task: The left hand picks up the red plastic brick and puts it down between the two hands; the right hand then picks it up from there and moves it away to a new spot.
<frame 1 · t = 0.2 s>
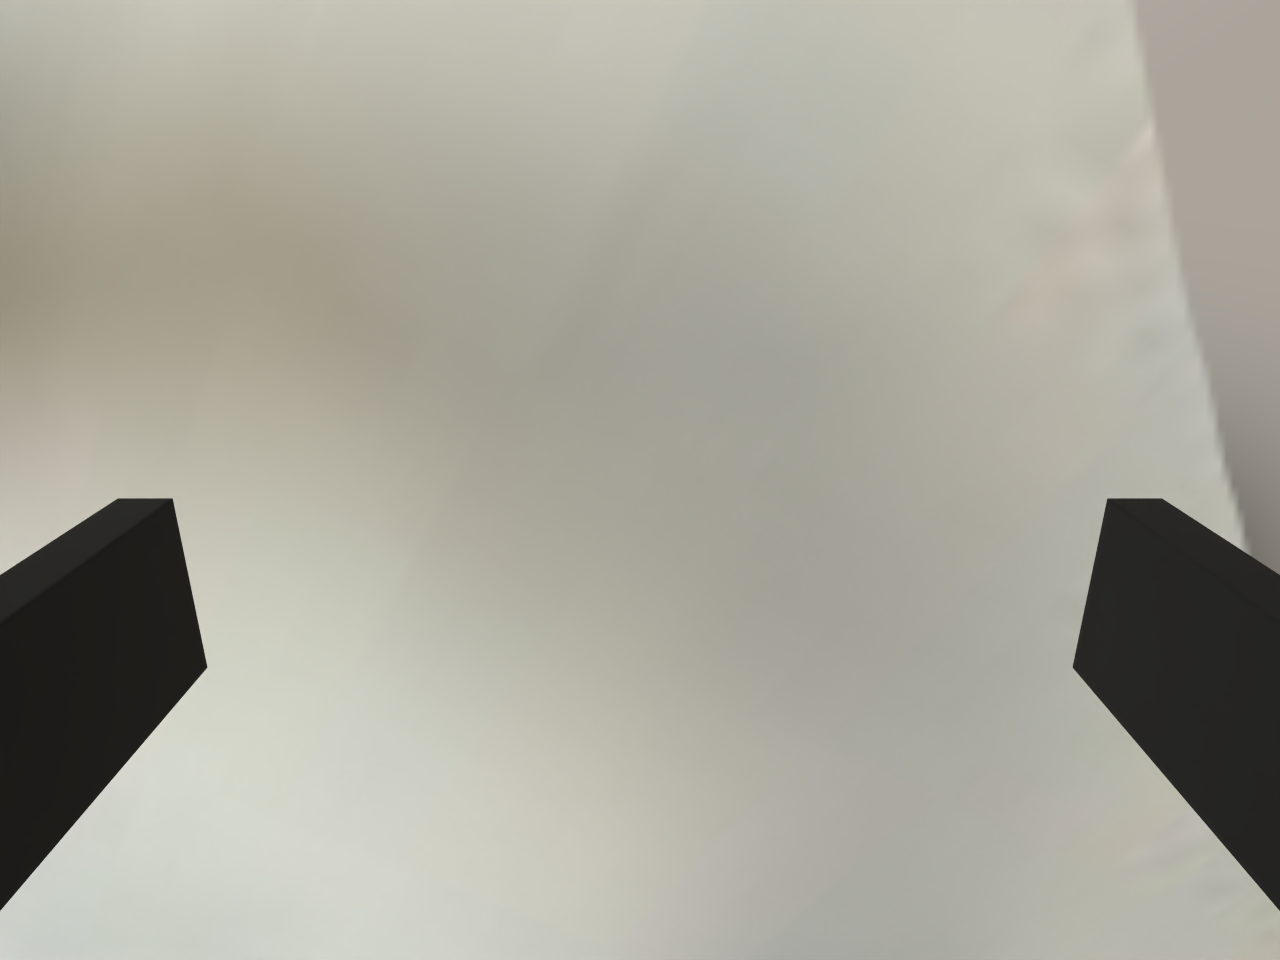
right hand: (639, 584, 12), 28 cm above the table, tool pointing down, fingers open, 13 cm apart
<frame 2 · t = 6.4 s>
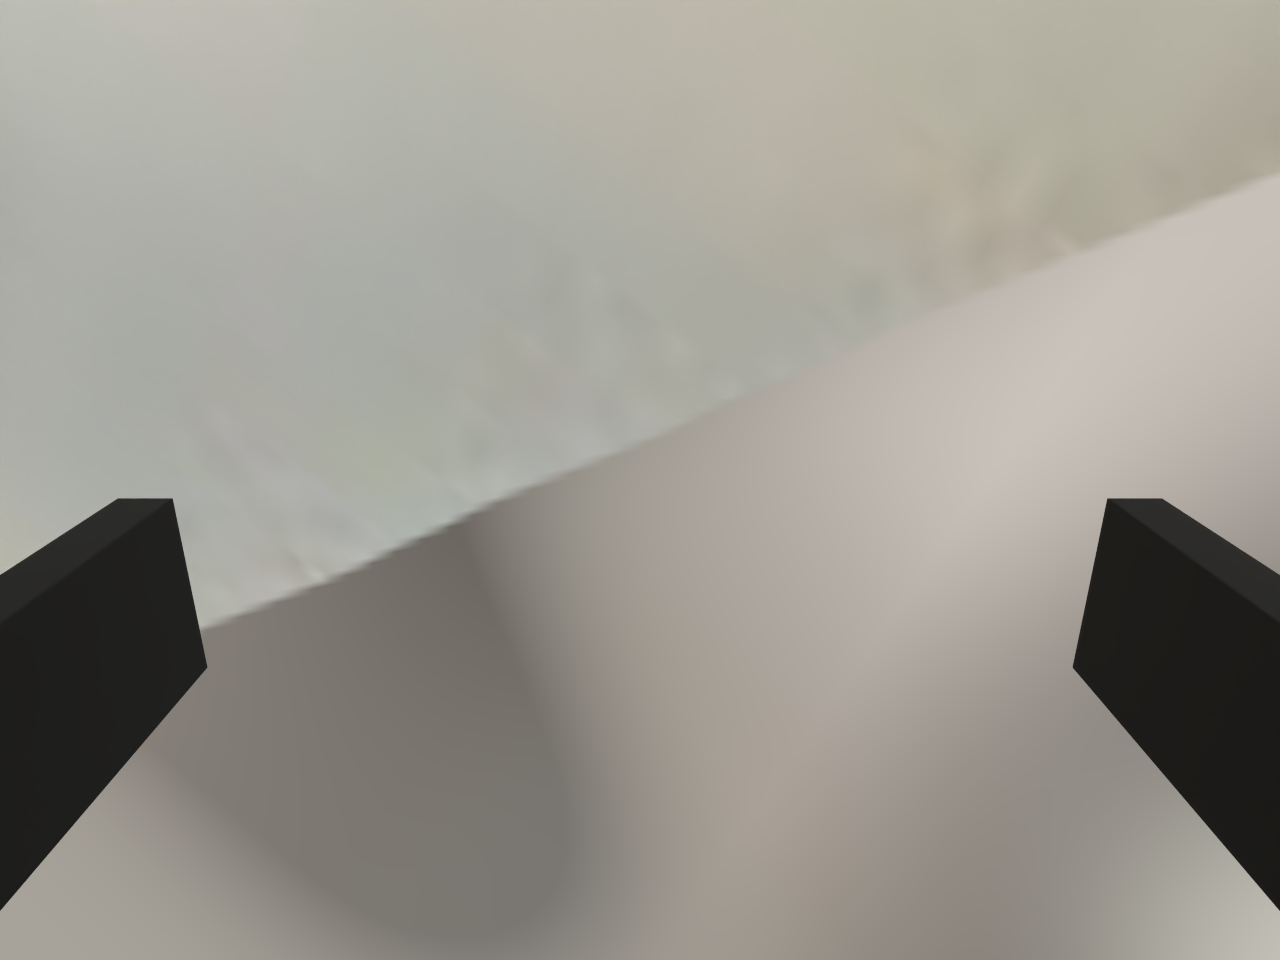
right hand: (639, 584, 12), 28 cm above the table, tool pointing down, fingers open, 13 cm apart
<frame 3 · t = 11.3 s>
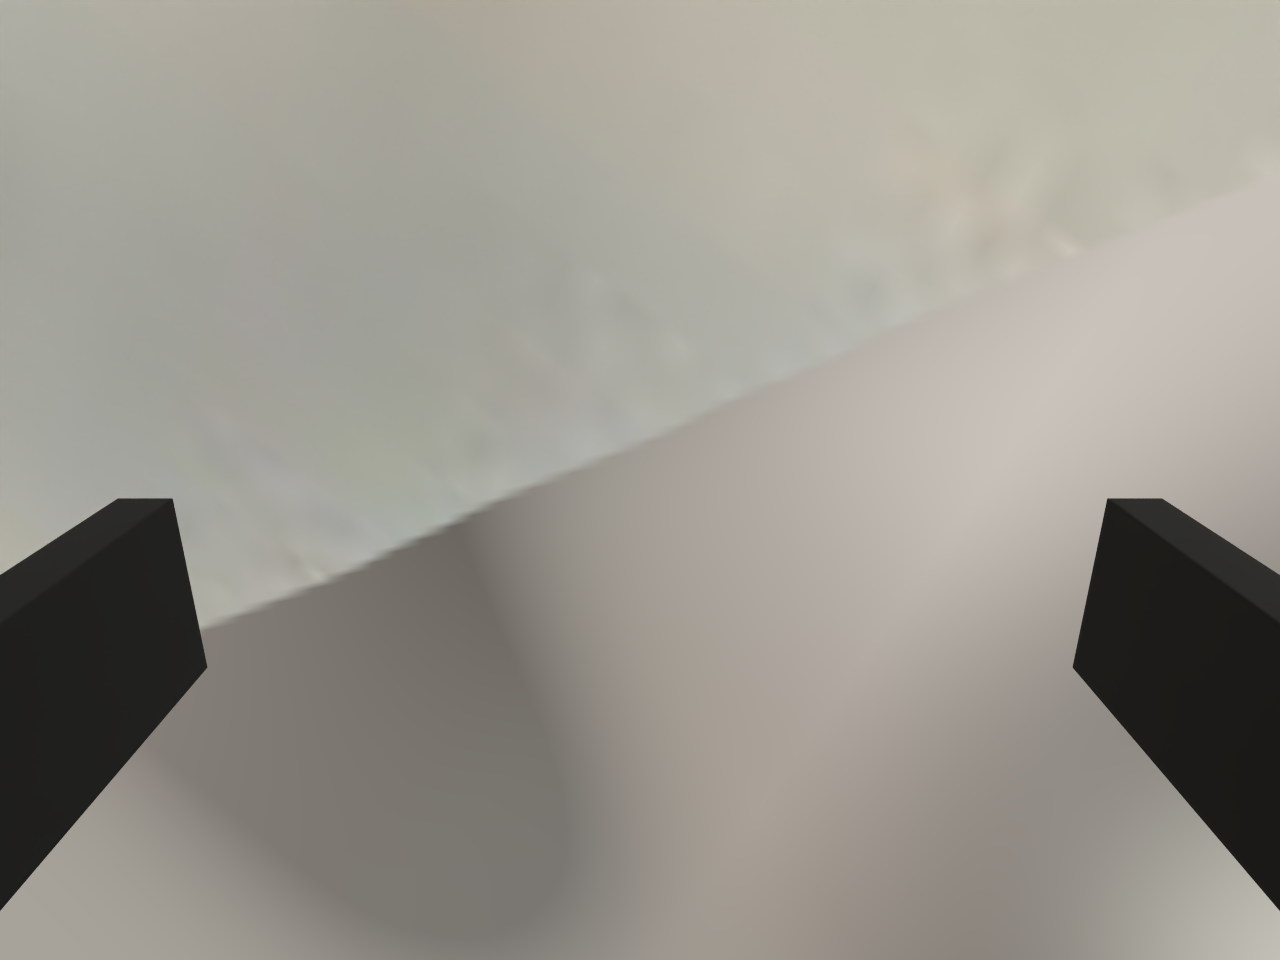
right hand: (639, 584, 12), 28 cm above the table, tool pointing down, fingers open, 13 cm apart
when the left hand's fingers open (5 cm above the table, at t = 16.2 s): brick drops 2 cm, on the table.
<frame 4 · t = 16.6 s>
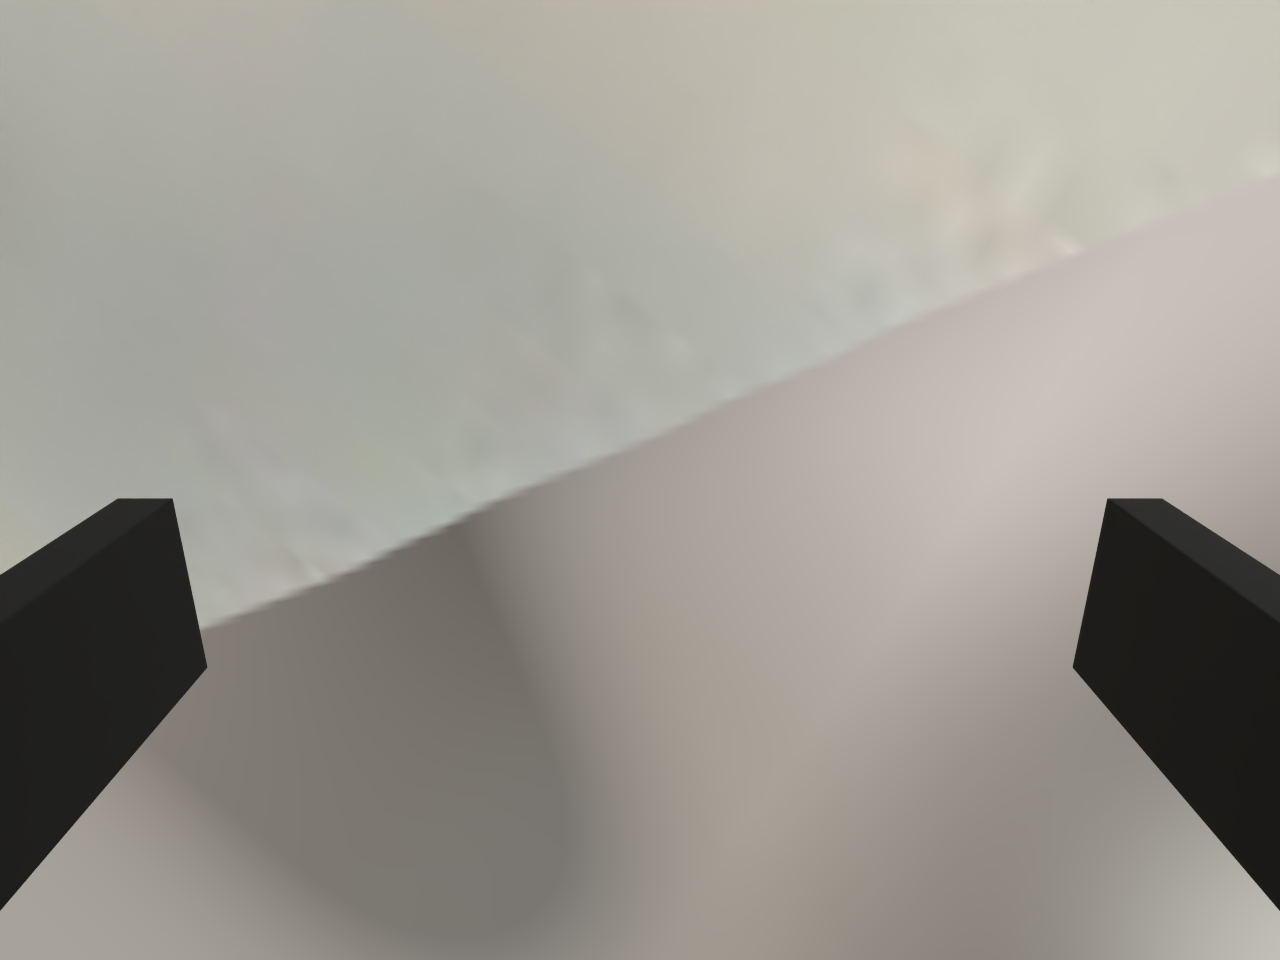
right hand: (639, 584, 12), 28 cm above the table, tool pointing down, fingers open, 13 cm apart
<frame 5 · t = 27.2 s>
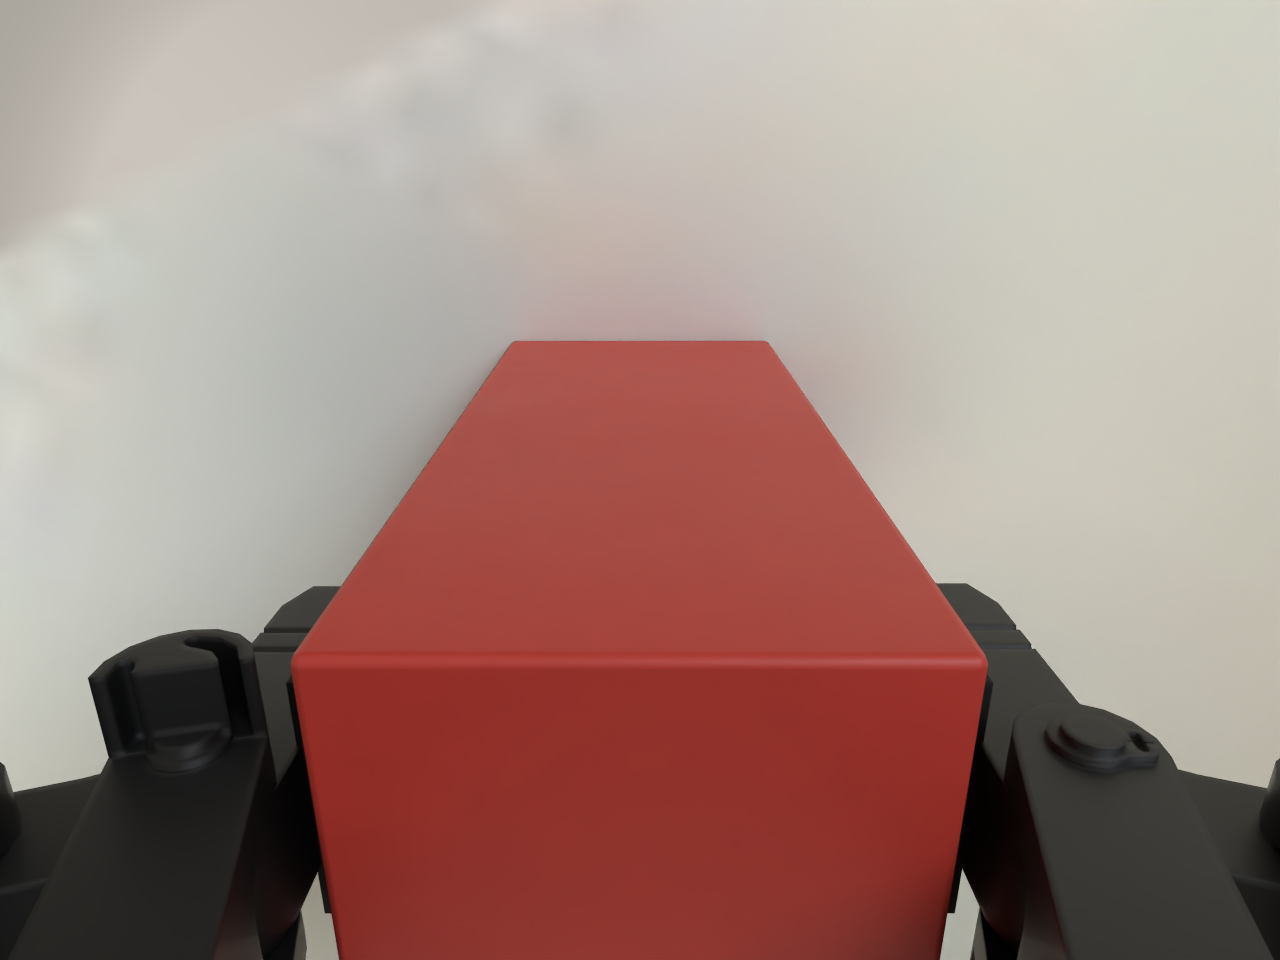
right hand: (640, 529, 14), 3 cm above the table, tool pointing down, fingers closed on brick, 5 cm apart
brick: (640, 475, 17), on the table, touching right hand
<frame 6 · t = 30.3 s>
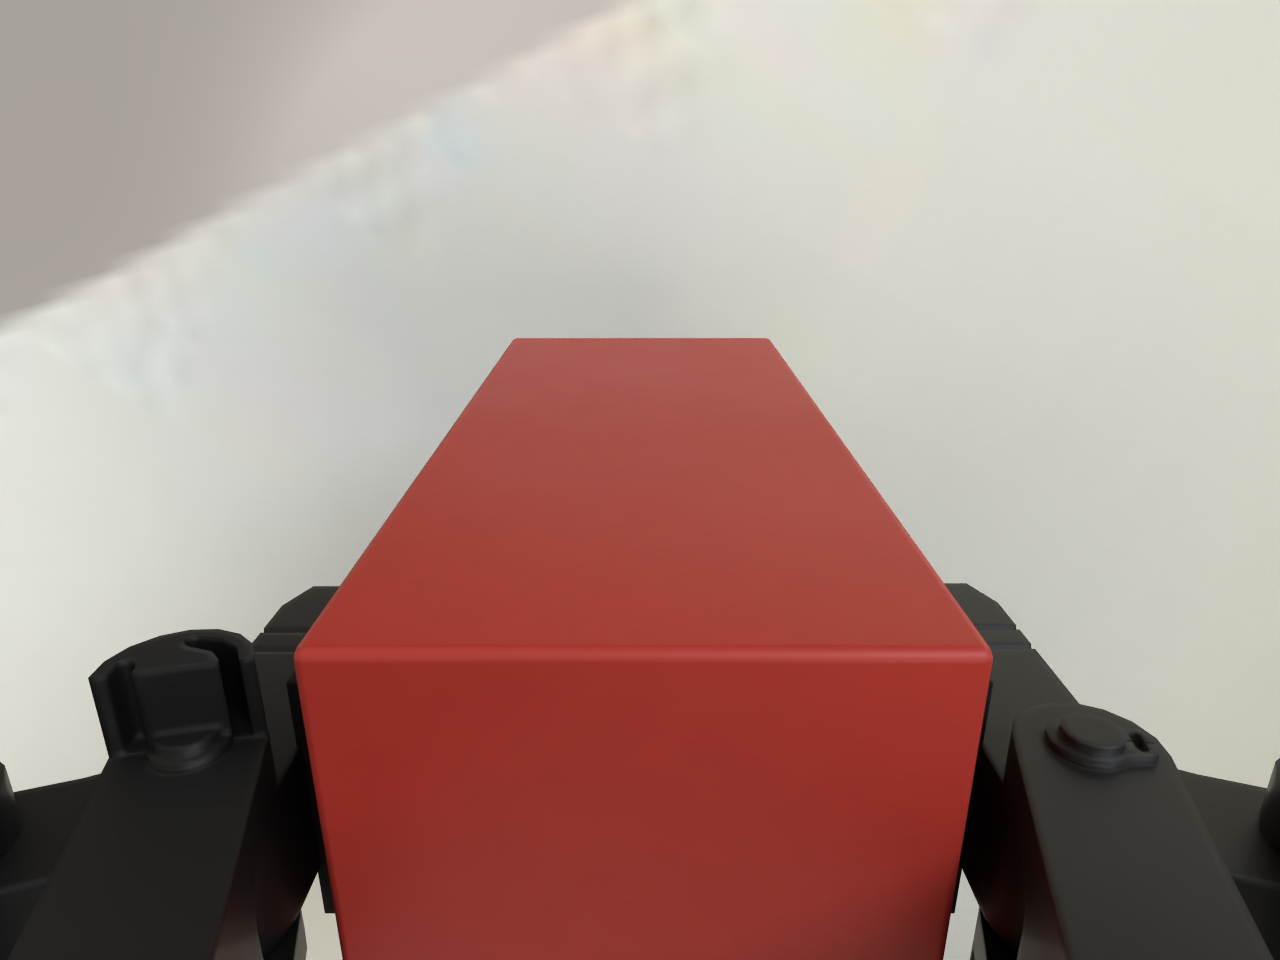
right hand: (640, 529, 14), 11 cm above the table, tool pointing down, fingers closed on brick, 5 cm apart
brick: (641, 472, 17), point 8 cm above the table, touching right hand
when the right hand's fingers open (5 cm above the table, at t = 33.2 s): brick drops 2 cm, on the table.
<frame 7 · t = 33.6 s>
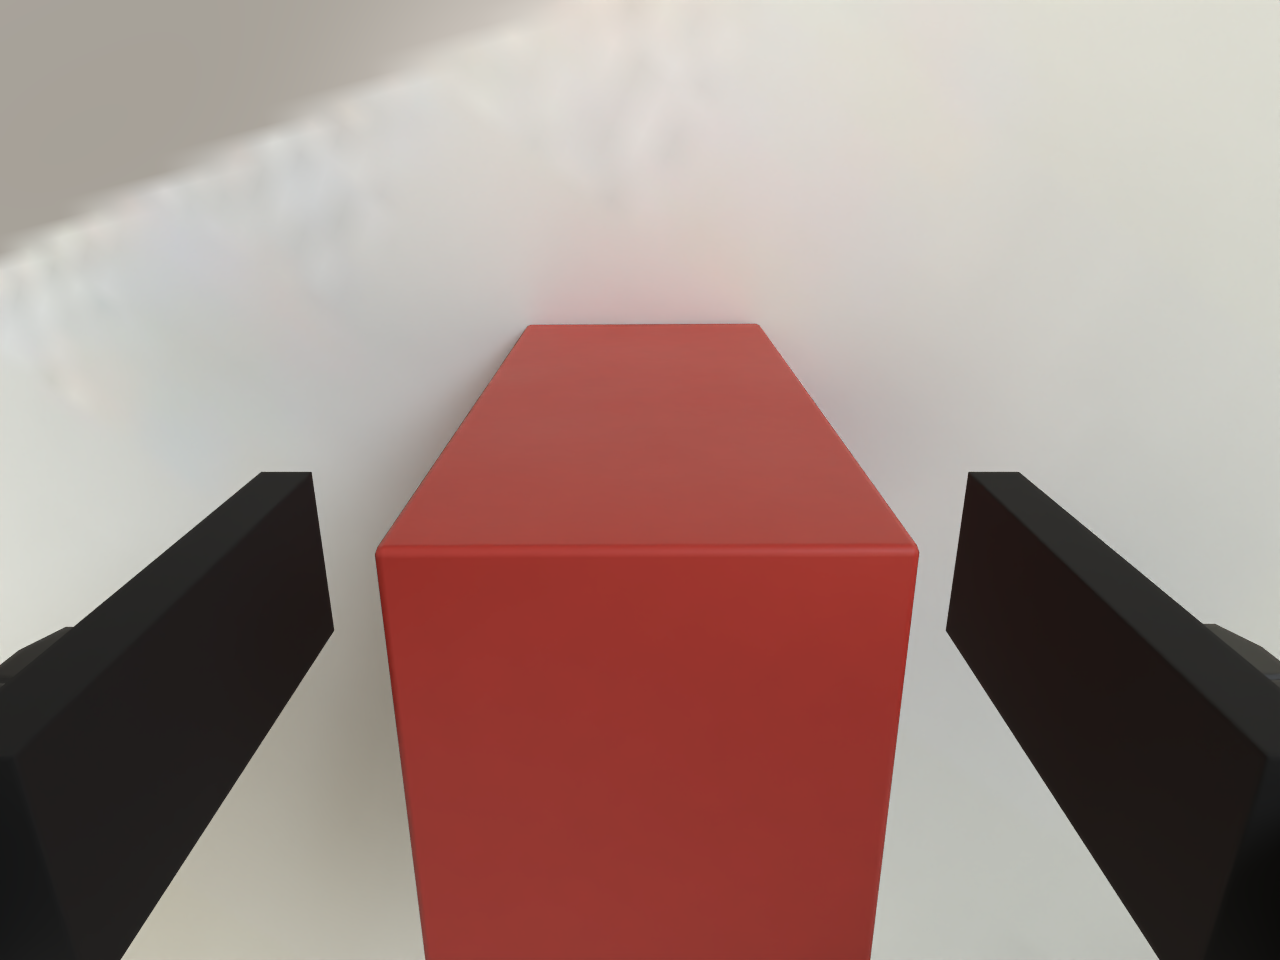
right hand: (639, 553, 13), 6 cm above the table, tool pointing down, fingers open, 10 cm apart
brick: (643, 447, 19), on the table
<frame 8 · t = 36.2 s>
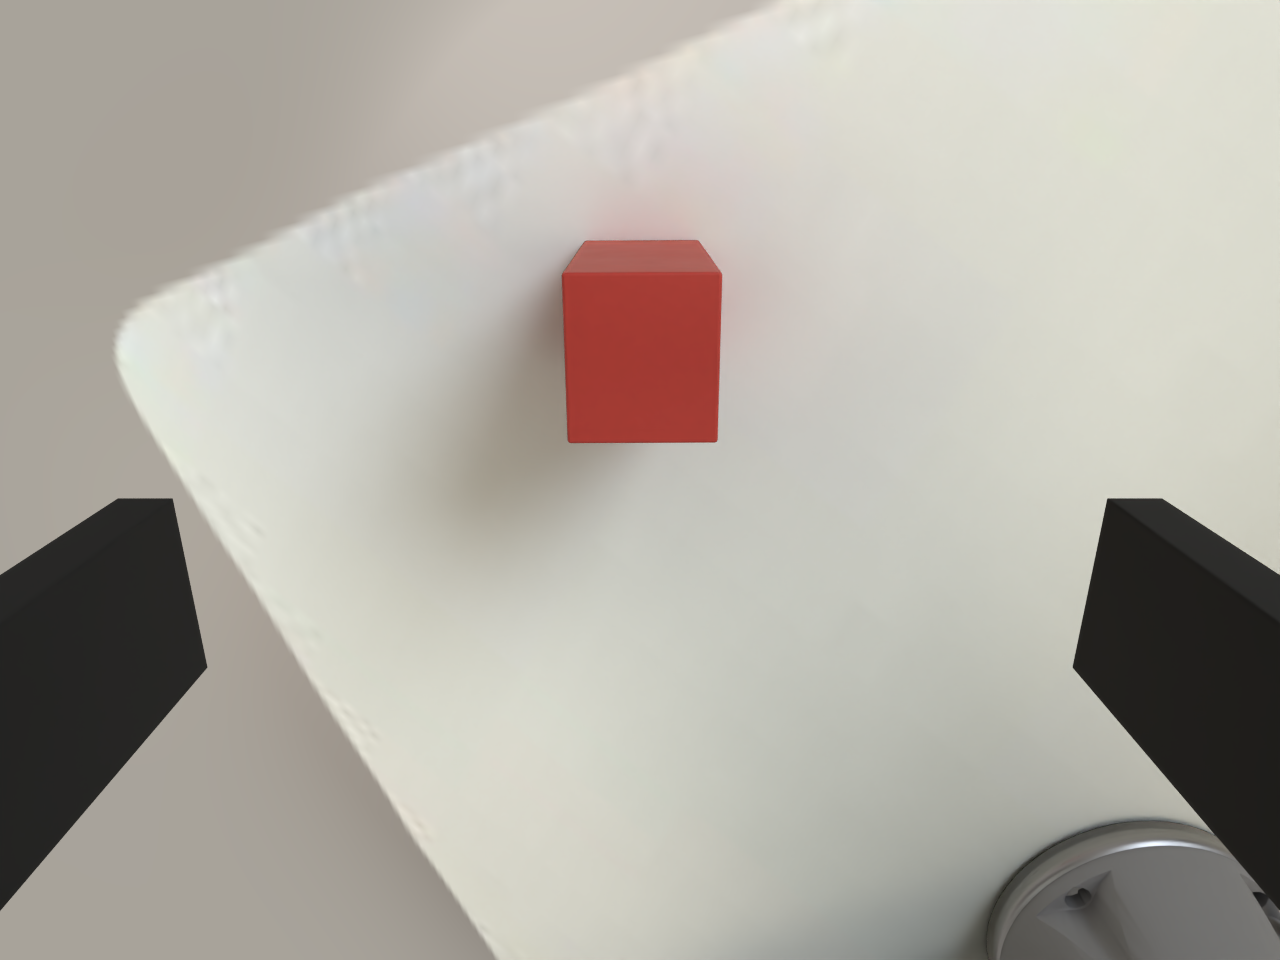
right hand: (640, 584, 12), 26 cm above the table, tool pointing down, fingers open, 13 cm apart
brick: (641, 305, 37), on the table
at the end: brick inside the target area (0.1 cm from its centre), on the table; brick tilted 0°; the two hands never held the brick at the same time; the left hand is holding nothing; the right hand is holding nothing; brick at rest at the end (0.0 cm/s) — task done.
